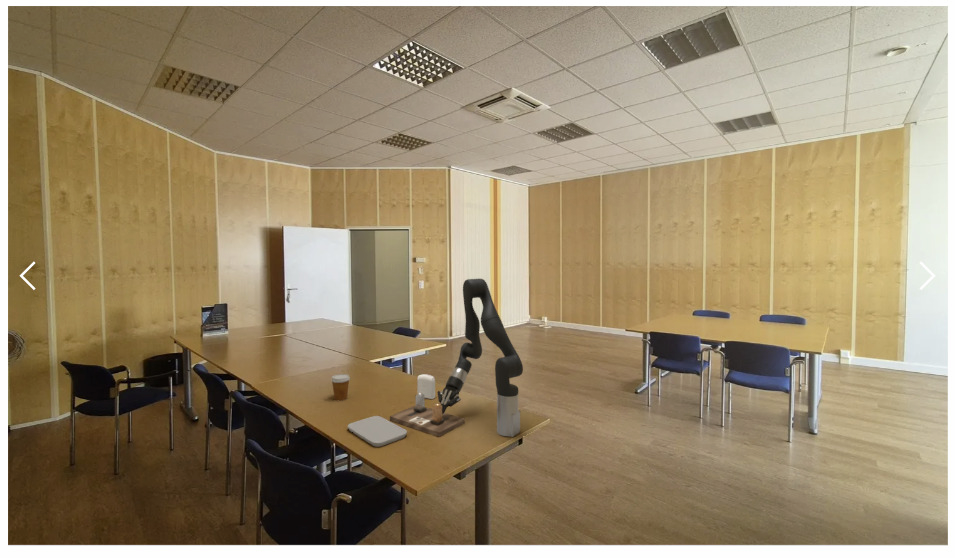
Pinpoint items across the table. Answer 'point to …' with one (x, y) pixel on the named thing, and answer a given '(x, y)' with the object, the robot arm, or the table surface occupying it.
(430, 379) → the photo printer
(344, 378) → the disposable coffee cup
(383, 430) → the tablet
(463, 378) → the robot arm
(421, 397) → the grey switch
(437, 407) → the copper switch
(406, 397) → the table surface
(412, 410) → the switch board
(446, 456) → the table surface
